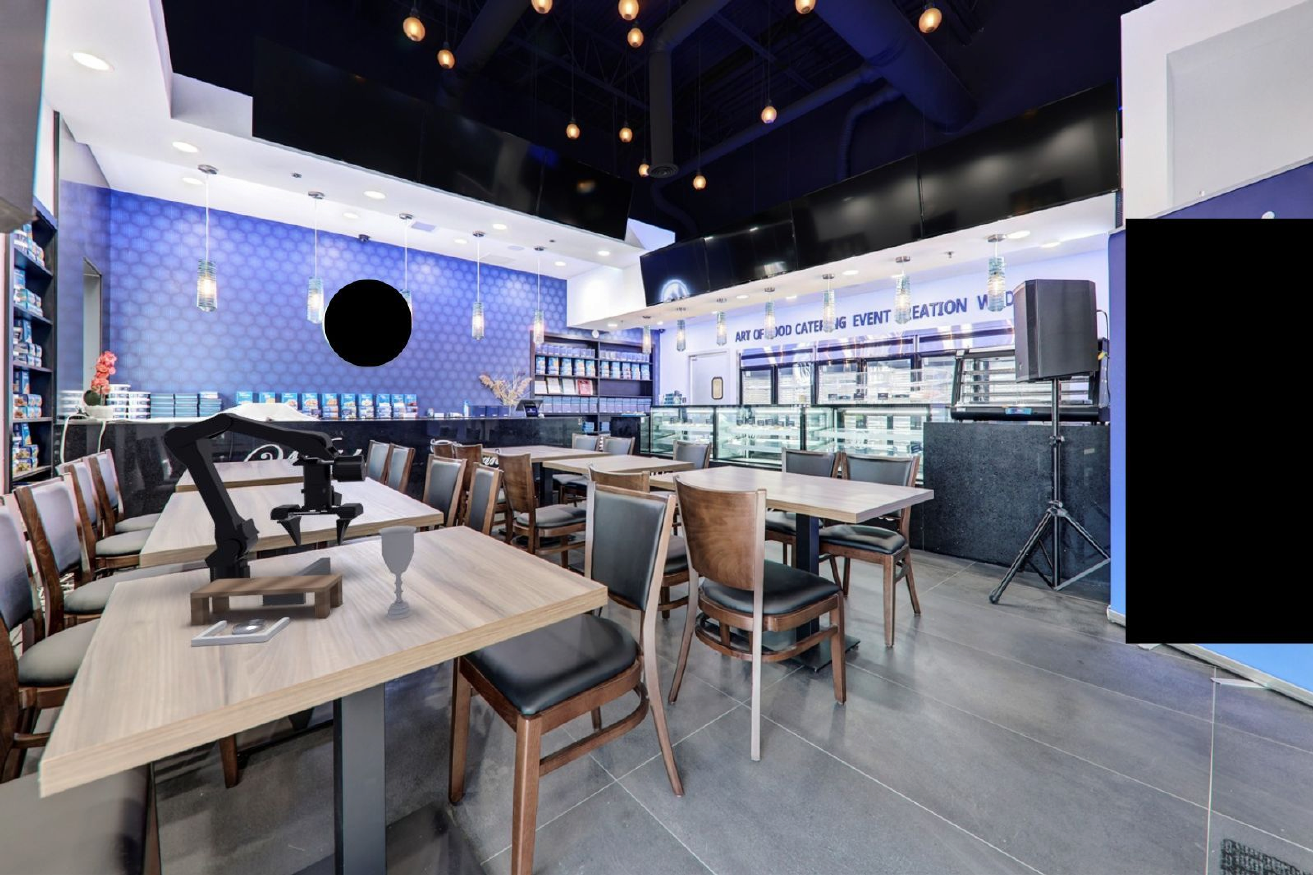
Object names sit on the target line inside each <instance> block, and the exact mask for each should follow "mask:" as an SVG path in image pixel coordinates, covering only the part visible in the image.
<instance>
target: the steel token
mask: <svg viewBox="0 0 1313 875" xmlns="http://www.w3.org/2000/svg"><path fill="white" fill-rule="evenodd" d="M266 627H267V625H266V620H265V619H260V618H256V619H250V620H246V621H242V622H239V623H237V624H235V625H234V626H232V635H243V634H256V633H258V632H260V631H263V629H265V628H266Z"/></svg>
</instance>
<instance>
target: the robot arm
mask: <svg viewBox="0 0 1313 875" xmlns="http://www.w3.org/2000/svg"><path fill="white" fill-rule="evenodd" d="M165 432H166V433H165V434H164V436H162V441H163V445H164V447H166V449H168V451H169V453H170V454H171V455H172V457H173V458H174V459H176V460H177V461H179V462H180V463H181V464H182V465H183V466H185V468H186V469H187V471H188V472H189V475H190V477H191V479H192V481H193V483H194V485H195V487H196V489H197V491H198V493H199V495H200V497H201V499H202V501H203V503H204V505H205V507H206V509H207V512H208V513H209V515H210V517H211V519H212V521H213V524H214V531H213V532H214V535H213V536H214V541H215V545H216V549H214V550H213V551H212V552H211V553H209V555H208V556H206V557H205V558H204V563H205V564H206V567H207V568H209V583H211V582H213V581H215V580H217V579H237V578H251V565H250V564H248V563H249V562H248V558H245V557H247V556H249V553H250V551H251V550H252V549H254V547H255V546H257V544H258V542H259V535H258V534H260V533H261V532H260V531H259V530H258V529H257V527H256V525H255V521H254V519H253V518H252V517H251V518H249V519H247V520H246V519H244V518H243V517H242V516H241V515H240V514H239V513H238V511H237V509H236V507H235V505H234V503H233V500H232V499H231V496H230V494H229V492H228V490H227V488H226V486H225V484H224V482H223V480H222V477H221V476H220V474H219V472H218V470H217V468H216V466H215V464H214V461H213V445H212V440H214V439H215V438H217V437H220V436H222V435H224V434H225V433H227V432H231V433H232V432H233V433H235V434H239V435H244V436H248V437H251V438H256V439H259V440H264V441H267V442H272V443H276V444H280V445H281V446H282V445H283V446H285V447H287V448H288V449H291V450H292V451H294V452H296V453H299V454H301V455H299V456H298V458H297V459H296V460H295V461H294V462H292V464H291V465H292V467H302V483H303V485H302V486H303V487H302V488H301V489H300V494H303V505H301V506H300V504H297V503H294V504H293V503H291V504H281V505H278V506H275V507H273V508H272V509H271V510H270V516H269V517H270V521H276V524H279V525H281V526H282V527H283V529H284V530H285V531H286V532H287V533H288V535H289V536H290V538H291V540H292V541H293V543H294V544H295V545H296V547H297V548H299V547H301V546H302V536H301V535H302V534H301V521H302V517H303V516H327V515H328V516H329V515H333V516H334V515H337V517H338V518H337V519H336V520H335V523H336V524H335V528H336V542H337V545H338V546H341V545H342V543H343V540H344V537H345V536H346V533H347V530H348V527H349V526H350V524H351V522H352V521H353V520H354V519H356V518H358V517H359V516H361V515H363V514H364V506H363V504H362V503H361V502H356V503H355V502H346V503H344V504H342V499H343V494H342V493H340V492H338V491H336V490H335V486H334V484H332V479H333V480H334V481H335V480H336V481H337V483H361V482H366V478H367V466H366V463H365V462H366V461H365V459H364V454H356V455H343V454H342V453H341V452H340V451H339V450H338V449H337V448H336V447H335V446H334V445H333V440H332V438H331V437H330V435H329V434H327V433H326V432H322V431H316V430H314V431H313V430H305V429H304V430H303V429H292V428H287V427H284V426H280V425H277V424H273V423H272V424H271V423H270V422H269V423H268V422H266V421H260V420H257V419H254V418H248V417H245V416H242V415H238V414H237V413H234V412H220V413H218V414H216V415H214V416H212V417H210V418H209V417H208V418H207V419H203V420H200V421H198V422H195V423H192V424H189V425H183V426H174V427H172V428H169V429H168V430H167V431H165ZM306 456H307V457H306ZM308 457H309V458H308Z"/></svg>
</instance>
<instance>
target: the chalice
mask: <svg viewBox="0 0 1313 875" xmlns="http://www.w3.org/2000/svg"><path fill="white" fill-rule="evenodd" d="M416 531H417V527H416V526H411V525H395V526H387V527H383V528H380V529H379V530H378V534H379V535H380V538H381V557H382V559H383V561H384V564H385V565H386V567H387V568H388V570H389V572H390V573H391V574H392V575H395V581H394V585H395V588H396V589H395V591H393V593H394V594H395V597H396V598H395V600H394V602H393V603H391V604H390V606H388V607H389V608H388V609H387V613H386V614H385V618H386V619H387V620H400V619H404V618H407V617H408V618H409V616H411V615H412V614H413V610H412V609H411V606H410V604H409V603H408V601H406V600H403V598H402V594H403V593H404V590H403V588H402V586H403V585H402V584H404V582H403V580H402V574H403V573H405V572H406V571H407V570H408V568H409V566H410V564H411V561H412V559H413V557H414V554H415V535H414V534H415V533H416Z"/></svg>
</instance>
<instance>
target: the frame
mask: <svg viewBox="0 0 1313 875" xmlns="http://www.w3.org/2000/svg"><path fill="white" fill-rule="evenodd" d="M289 624H290V617H288V616H287V617H286V616H285V617H283V618H281V619H280V620H278V621H277V622H276V623H274V624H273V625H272V626H270V627H269V628H267V630H265V631H264V632H262V633H252V634H243V635H234V634H230V635H229V634H228V635H216V634H218V633H220V632H221V631H223V630H225V628H227V627H228V622H227V620H220V621H219V622H217V623H215V624H214V625H212V626H210V627H209V628H207V629H205V630H204V631H203V632H201V633H200V634H198V635H197V636H195V637H193V638H192V639H191V640H190V642H191V643H190V645H191V647H200V646H202V647H203V646H216V645H217V646H219V645H232V644H234V645H236V644H237V645H238V644H249V643H266V642H268V641H269V640H270V639H271V638H272V637H274V636H275V635H277V634H278V633H279V632H280V631H282V630H283V629H284V628H285V627H286V626H288V625H289Z"/></svg>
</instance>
